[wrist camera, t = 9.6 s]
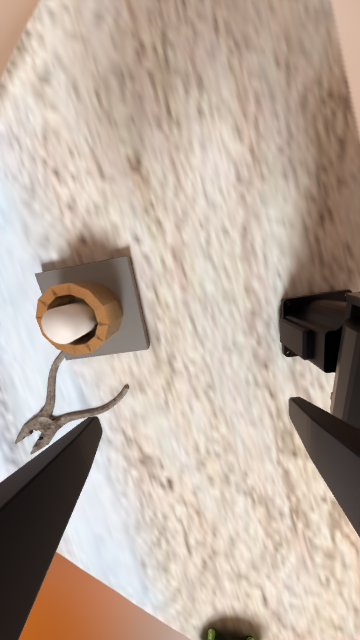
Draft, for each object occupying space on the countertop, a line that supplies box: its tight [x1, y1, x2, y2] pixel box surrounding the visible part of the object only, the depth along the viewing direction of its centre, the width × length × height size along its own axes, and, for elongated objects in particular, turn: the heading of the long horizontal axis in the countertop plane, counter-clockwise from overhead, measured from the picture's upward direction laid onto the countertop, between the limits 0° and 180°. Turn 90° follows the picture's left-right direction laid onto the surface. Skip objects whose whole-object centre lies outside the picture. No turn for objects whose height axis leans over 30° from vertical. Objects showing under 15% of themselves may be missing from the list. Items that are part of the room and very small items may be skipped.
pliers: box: [15, 351, 129, 454], centre depth 24 cm, size 10×1×20 cm
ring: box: [36, 281, 123, 355], centre depth 17 cm, size 6×6×4 cm
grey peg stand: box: [35, 256, 150, 360], centre depth 17 cm, size 10×10×6 cm
